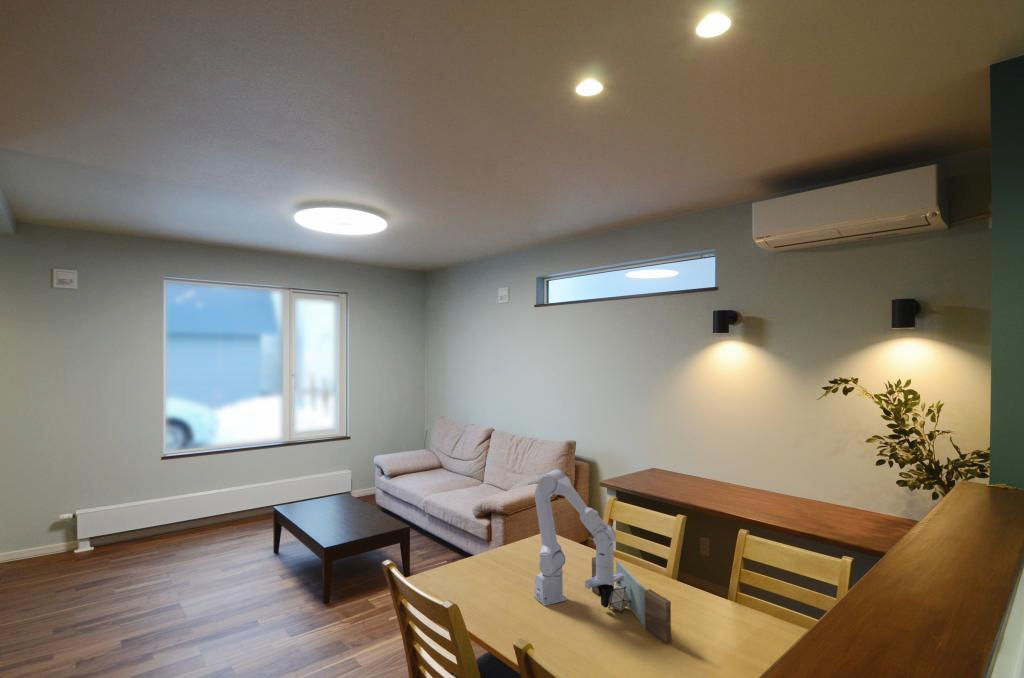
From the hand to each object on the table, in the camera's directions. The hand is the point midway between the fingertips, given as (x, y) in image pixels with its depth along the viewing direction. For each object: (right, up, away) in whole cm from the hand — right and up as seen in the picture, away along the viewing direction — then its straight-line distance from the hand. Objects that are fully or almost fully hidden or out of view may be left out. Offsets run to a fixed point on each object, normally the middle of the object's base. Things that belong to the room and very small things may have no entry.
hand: (604, 606), depth 169 cm
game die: (+4, -2, +1) cm, 5 cm away
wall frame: (+7, -2, -2) cm, 8 cm away
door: (+9, -2, +2) cm, 9 cm away
